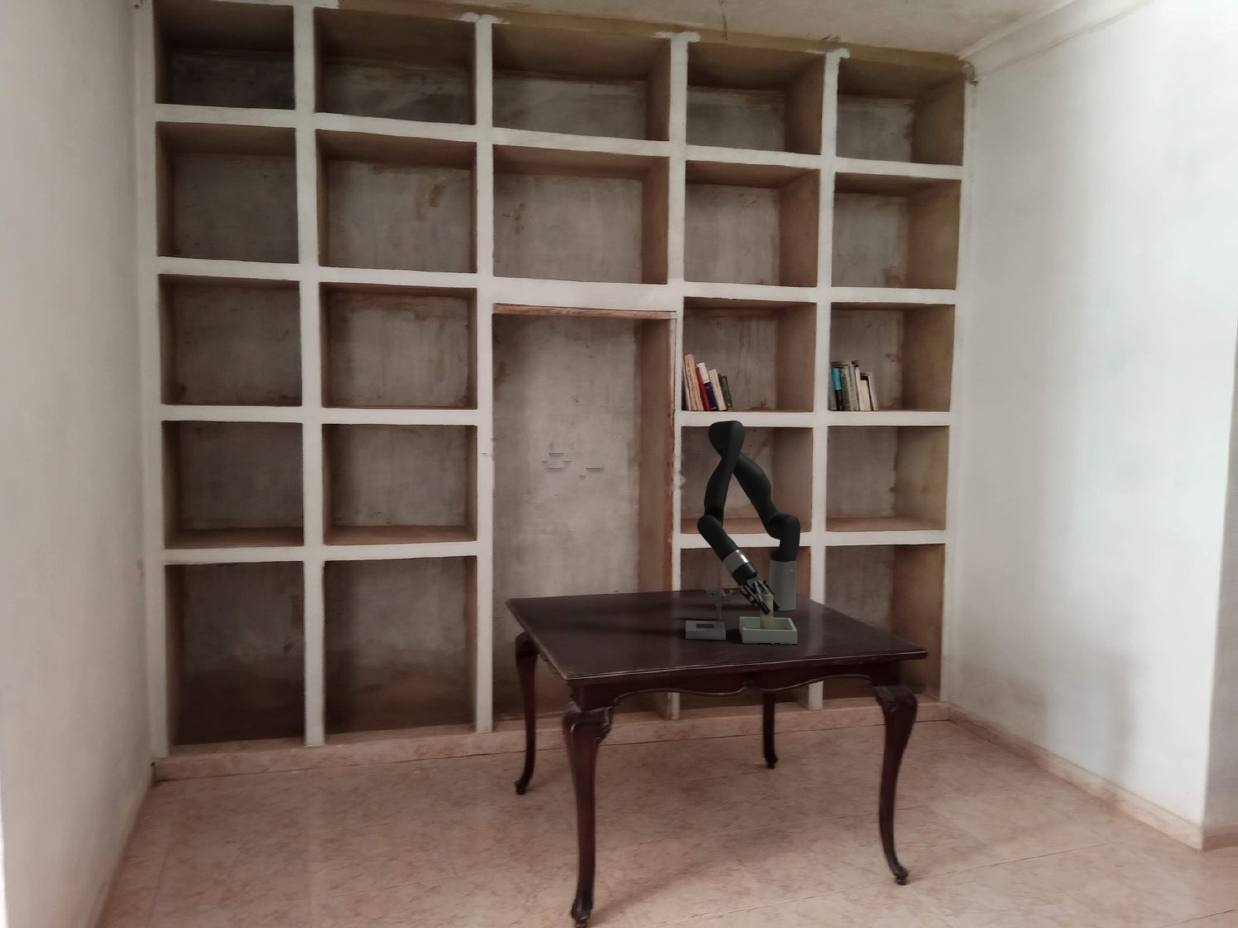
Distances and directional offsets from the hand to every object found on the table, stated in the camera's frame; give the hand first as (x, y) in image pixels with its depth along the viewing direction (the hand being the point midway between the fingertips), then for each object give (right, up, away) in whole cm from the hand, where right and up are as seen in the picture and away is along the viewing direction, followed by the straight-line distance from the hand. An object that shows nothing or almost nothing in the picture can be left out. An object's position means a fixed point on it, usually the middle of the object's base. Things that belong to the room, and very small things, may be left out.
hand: (773, 611), depth 260 cm
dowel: (-1, -7, +2) cm, 8 cm away
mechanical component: (-14, -7, +23) cm, 27 cm away
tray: (-1, -8, +2) cm, 8 cm away
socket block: (-20, -8, +4) cm, 22 cm away
